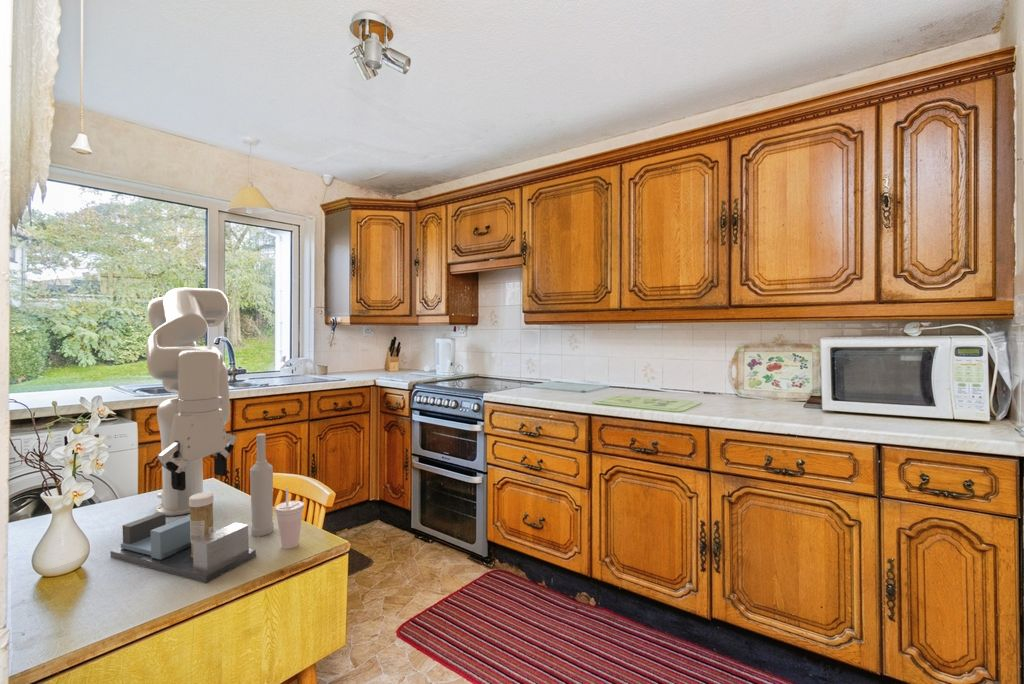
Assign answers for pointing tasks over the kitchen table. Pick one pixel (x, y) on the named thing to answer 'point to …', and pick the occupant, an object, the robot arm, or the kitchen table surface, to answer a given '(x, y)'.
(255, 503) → the bottle
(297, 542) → the smoothie
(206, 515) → the spice jar
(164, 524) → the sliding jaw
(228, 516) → the kitchen table surface
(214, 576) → the clamp base
